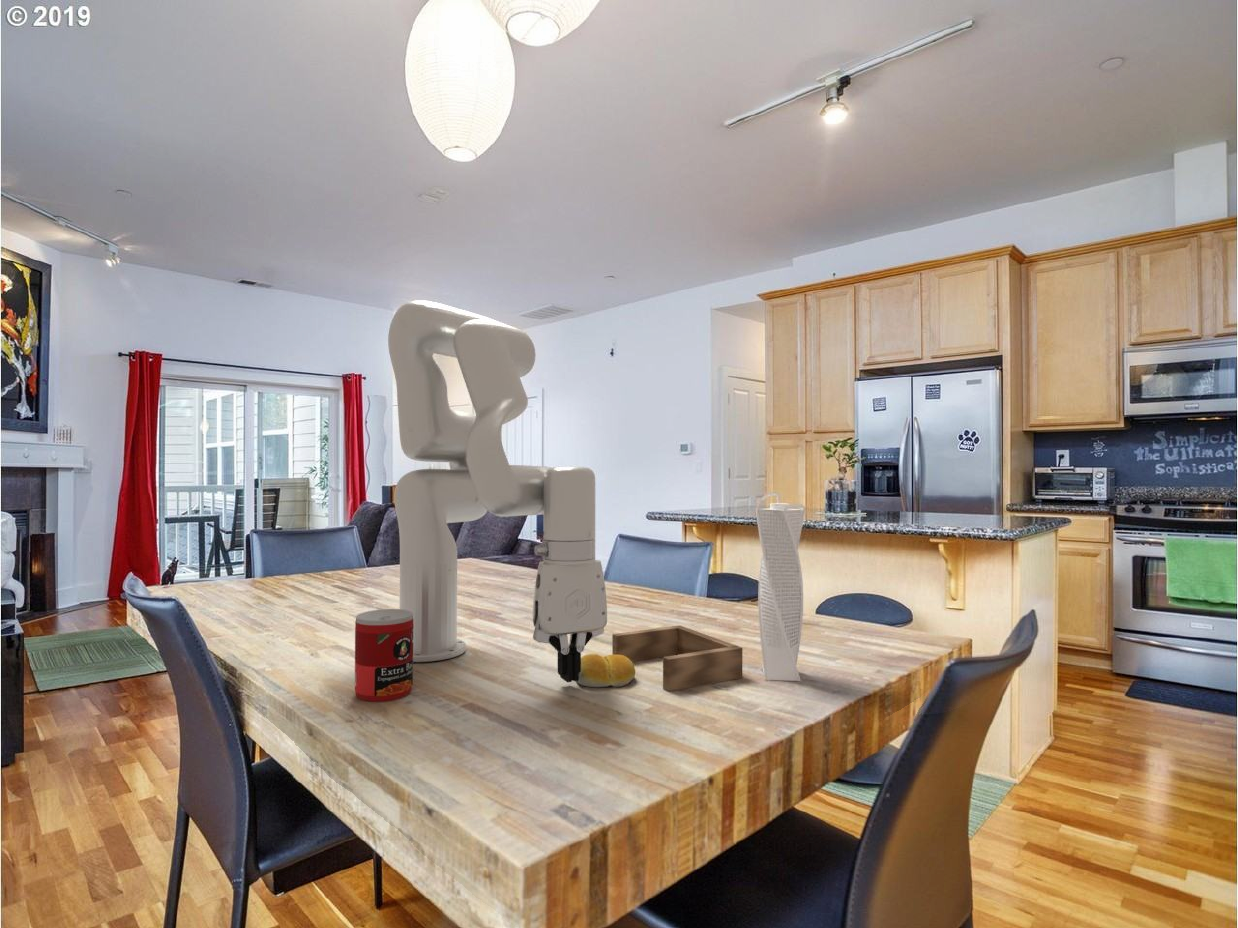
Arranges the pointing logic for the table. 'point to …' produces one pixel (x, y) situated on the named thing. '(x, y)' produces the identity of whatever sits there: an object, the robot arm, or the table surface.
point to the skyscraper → (780, 588)
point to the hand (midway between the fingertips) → (569, 678)
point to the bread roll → (605, 670)
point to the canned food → (383, 654)
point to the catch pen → (682, 655)
